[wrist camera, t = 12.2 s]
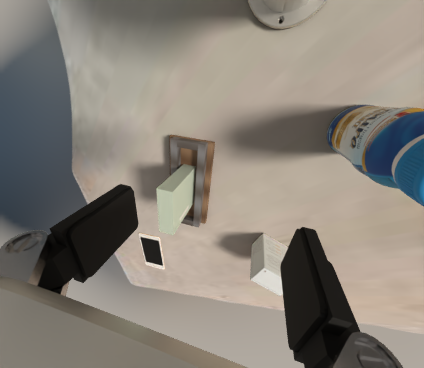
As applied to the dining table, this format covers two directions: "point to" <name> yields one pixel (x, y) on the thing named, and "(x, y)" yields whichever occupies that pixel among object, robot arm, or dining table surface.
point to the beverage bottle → (383, 145)
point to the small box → (267, 263)
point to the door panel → (175, 198)
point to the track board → (203, 160)
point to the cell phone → (152, 250)
